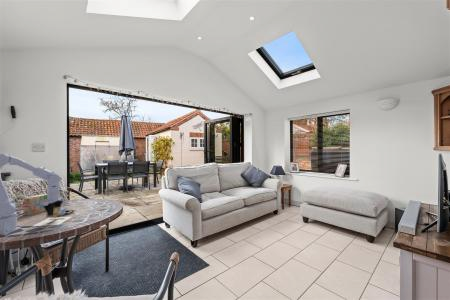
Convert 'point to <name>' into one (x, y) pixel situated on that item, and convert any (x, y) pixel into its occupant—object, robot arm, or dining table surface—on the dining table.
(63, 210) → the blue cube
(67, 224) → the dining table surface
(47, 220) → the letter card
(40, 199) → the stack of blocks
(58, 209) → the oak block
